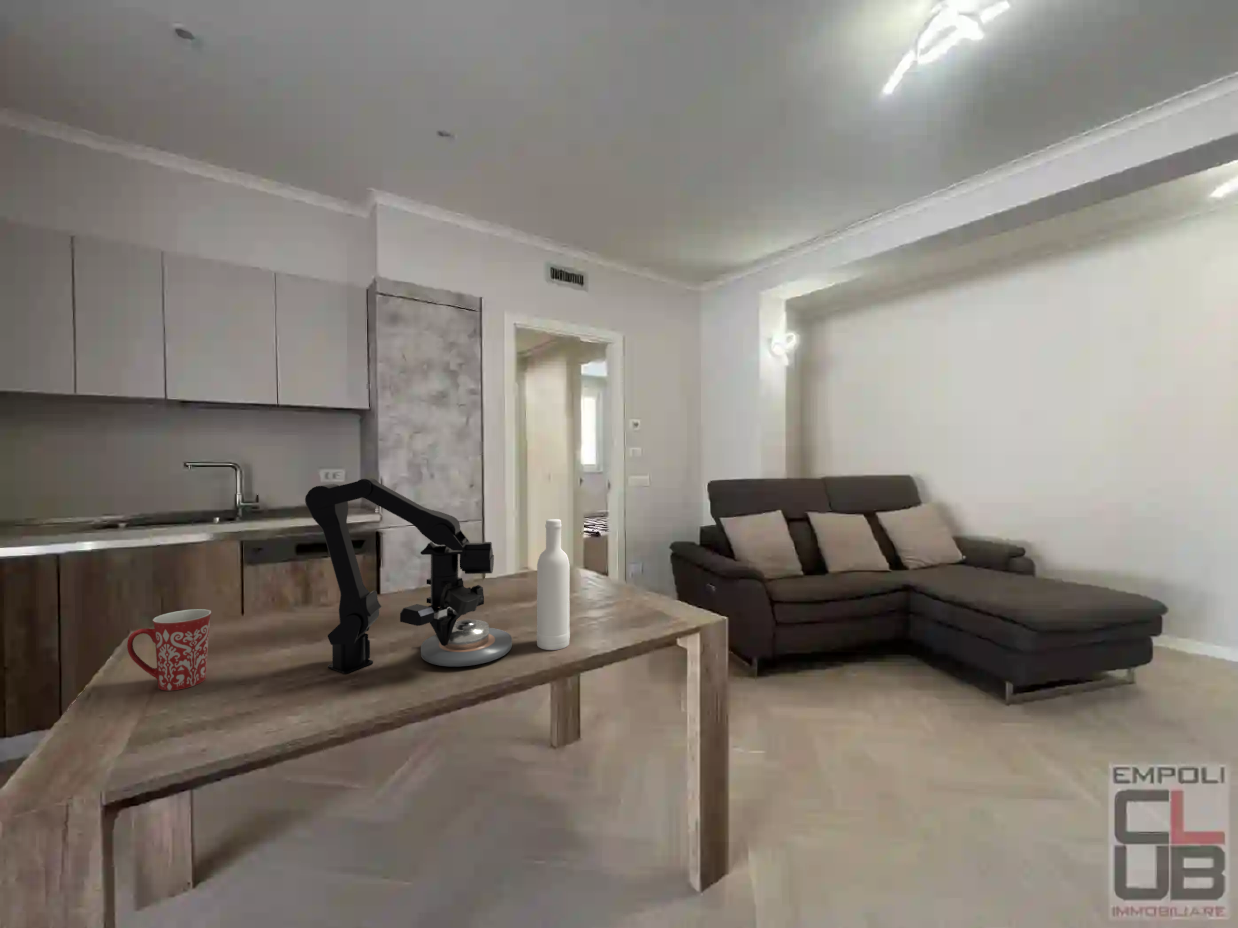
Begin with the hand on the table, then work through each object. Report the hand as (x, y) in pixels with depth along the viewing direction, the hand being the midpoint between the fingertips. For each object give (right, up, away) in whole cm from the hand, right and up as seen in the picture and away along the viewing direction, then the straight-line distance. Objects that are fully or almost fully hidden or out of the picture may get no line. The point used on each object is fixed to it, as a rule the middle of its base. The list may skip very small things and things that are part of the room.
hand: (444, 645), depth 114 cm
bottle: (+22, -4, +11) cm, 25 cm away
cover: (+3, -1, +6) cm, 7 cm away
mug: (-50, -4, -11) cm, 51 cm away
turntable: (+3, -4, +6) cm, 8 cm away
